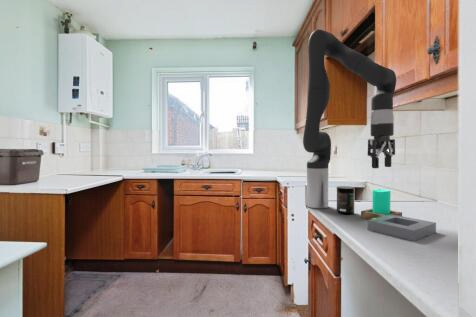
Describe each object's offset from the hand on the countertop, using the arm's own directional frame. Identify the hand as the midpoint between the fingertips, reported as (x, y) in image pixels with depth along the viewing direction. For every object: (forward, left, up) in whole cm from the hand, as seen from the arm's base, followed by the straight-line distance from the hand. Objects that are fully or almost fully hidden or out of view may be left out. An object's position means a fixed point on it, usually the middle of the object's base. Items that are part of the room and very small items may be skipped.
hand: (381, 167), depth 106 cm
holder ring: (0, 0, -19) cm, 19 cm away
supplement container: (-13, -3, -19) cm, 23 cm away
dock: (+12, -10, -19) cm, 24 cm away
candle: (0, 0, -19) cm, 19 cm away
